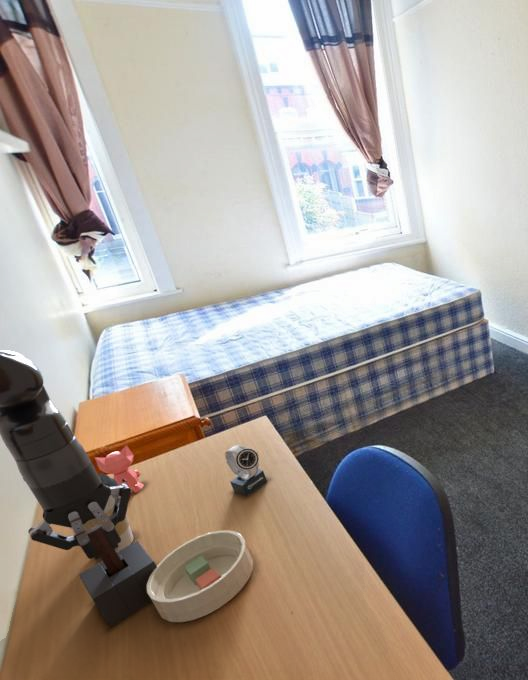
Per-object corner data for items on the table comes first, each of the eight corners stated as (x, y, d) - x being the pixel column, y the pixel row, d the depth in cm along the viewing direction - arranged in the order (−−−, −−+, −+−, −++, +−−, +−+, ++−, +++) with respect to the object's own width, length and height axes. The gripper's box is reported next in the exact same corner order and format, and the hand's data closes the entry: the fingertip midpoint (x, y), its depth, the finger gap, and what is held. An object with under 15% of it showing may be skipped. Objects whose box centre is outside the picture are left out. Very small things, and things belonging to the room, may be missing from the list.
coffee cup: (134, 521, 103) (105, 466, 97) (151, 539, 97) (121, 482, 91) (78, 552, 96) (43, 495, 90) (93, 574, 90) (56, 514, 84)
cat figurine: (146, 478, 117) (126, 438, 112) (152, 489, 113) (131, 448, 108) (111, 493, 113) (89, 452, 108) (116, 506, 108) (93, 464, 103)
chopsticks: (126, 601, 84) (86, 534, 77) (124, 598, 84) (84, 531, 78) (139, 593, 85) (101, 526, 79) (137, 589, 86) (99, 523, 80)
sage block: (196, 586, 85) (190, 574, 84) (189, 578, 86) (183, 566, 85) (213, 574, 87) (208, 562, 86) (206, 566, 89) (201, 555, 87)
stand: (110, 628, 79) (92, 599, 76) (96, 602, 84) (78, 574, 81) (168, 589, 85) (153, 561, 83) (151, 567, 91) (137, 540, 88)
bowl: (178, 641, 76) (165, 619, 74) (146, 596, 84) (133, 574, 82) (269, 573, 87) (260, 552, 84) (232, 539, 95) (223, 519, 93)
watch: (252, 498, 106) (236, 459, 102) (229, 490, 110) (213, 452, 106) (272, 482, 111) (258, 444, 107) (250, 475, 114) (236, 438, 110)
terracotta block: (208, 599, 82) (201, 587, 81) (200, 591, 84) (194, 579, 82) (225, 586, 84) (220, 575, 83) (218, 579, 86) (212, 567, 85)
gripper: (2, 506, 66) (60, 591, 73) (118, 454, 76) (159, 533, 83) (-6, 487, 71) (49, 570, 78) (105, 440, 81) (145, 517, 88)
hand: (106, 550), depth 80 cm, fingers closed on chopsticks
